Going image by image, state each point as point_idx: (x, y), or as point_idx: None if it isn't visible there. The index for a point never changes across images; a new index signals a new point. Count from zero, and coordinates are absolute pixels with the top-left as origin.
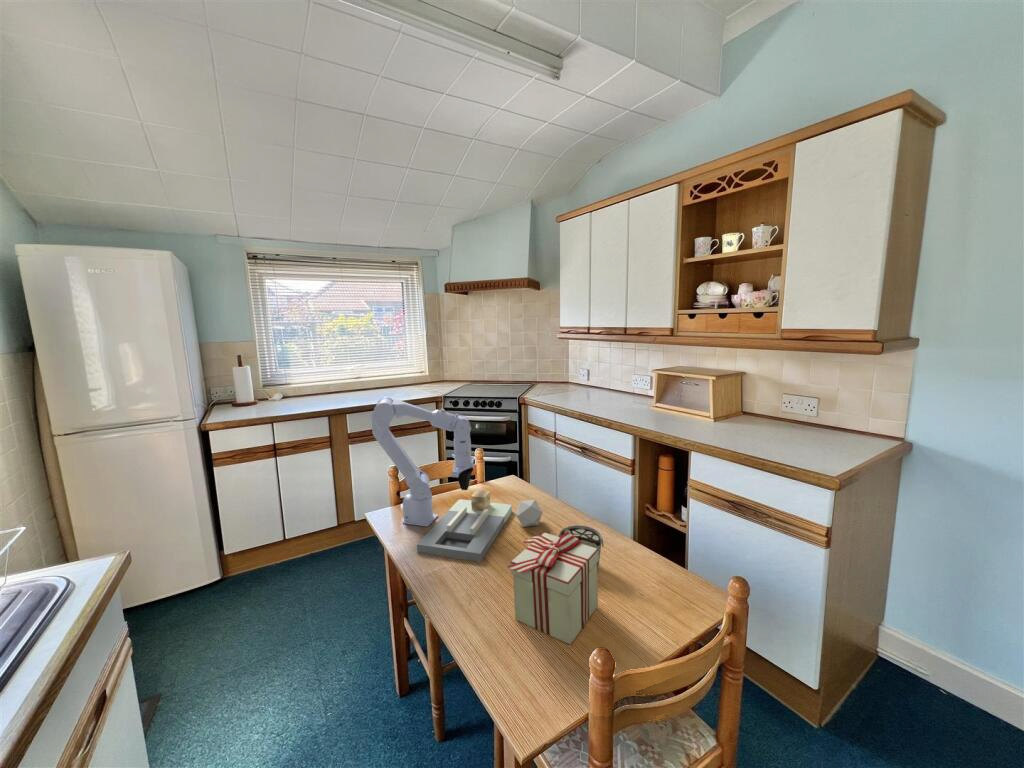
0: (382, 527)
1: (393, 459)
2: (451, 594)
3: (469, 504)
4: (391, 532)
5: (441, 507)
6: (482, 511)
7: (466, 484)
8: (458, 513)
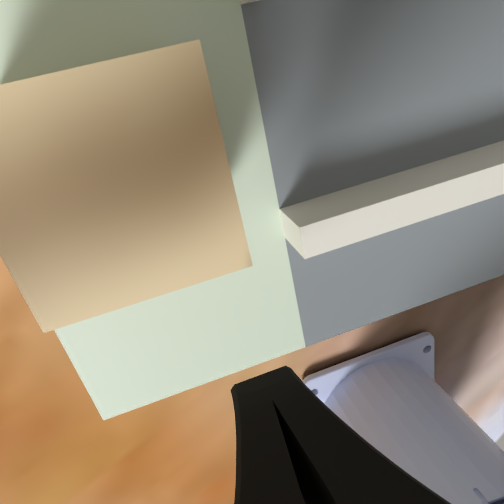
0: None
1: None
2: None
3: None
4: (500, 410)
5: (198, 439)
6: None
7: (351, 434)
8: (431, 206)
